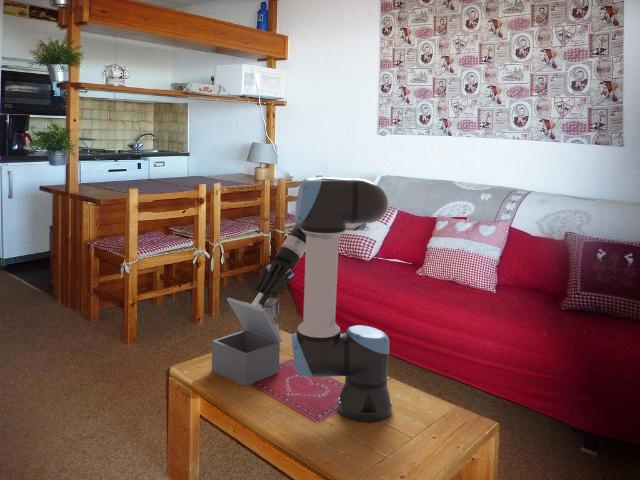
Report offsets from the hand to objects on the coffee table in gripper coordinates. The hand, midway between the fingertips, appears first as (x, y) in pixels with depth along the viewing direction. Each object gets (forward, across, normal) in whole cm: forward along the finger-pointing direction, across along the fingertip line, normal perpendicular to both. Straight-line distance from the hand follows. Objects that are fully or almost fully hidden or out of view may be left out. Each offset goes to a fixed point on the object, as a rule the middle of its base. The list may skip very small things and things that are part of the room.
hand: (252, 311), depth 193 cm
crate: (+16, -1, -11) cm, 19 cm away
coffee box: (+1, +11, -26) cm, 28 cm away
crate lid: (+2, -1, -2) cm, 3 cm away
